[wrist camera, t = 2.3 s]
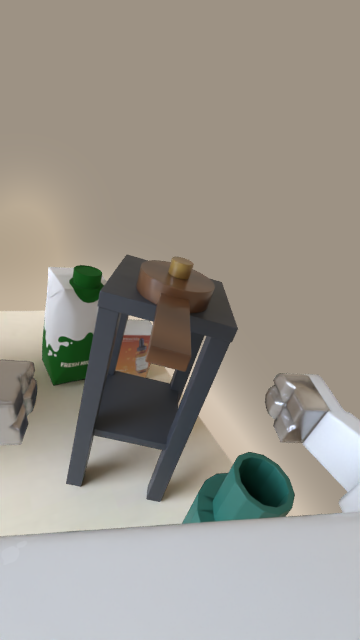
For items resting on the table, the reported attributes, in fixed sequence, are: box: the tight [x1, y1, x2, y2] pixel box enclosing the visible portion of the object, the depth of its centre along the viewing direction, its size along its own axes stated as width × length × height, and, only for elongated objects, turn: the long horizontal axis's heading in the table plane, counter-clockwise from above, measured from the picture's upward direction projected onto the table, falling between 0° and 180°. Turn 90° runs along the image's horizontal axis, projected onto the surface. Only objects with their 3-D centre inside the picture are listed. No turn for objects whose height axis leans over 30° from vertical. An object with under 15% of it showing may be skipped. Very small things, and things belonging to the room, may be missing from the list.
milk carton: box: [42, 265, 107, 385], centre depth 48 cm, size 9×9×20 cm
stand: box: [66, 255, 238, 502], centre depth 35 cm, size 12×12×26 cm
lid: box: [136, 257, 215, 372], centre depth 23 cm, size 15×7×3 cm, turn 179°
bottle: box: [182, 452, 295, 524], centre depth 27 cm, size 8×8×17 cm
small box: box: [115, 320, 153, 378], centre depth 53 cm, size 8×6×10 cm
